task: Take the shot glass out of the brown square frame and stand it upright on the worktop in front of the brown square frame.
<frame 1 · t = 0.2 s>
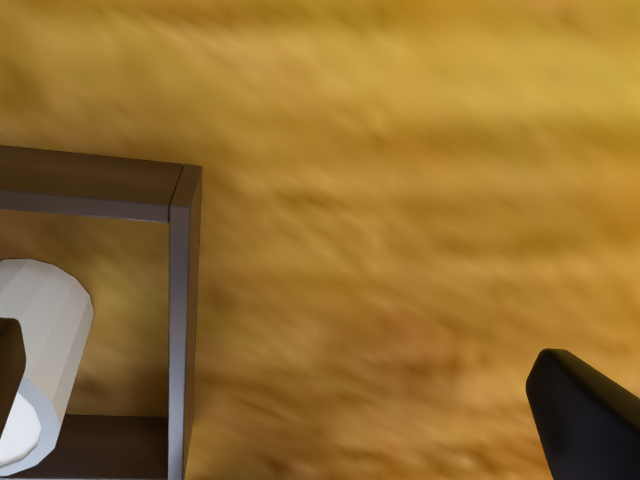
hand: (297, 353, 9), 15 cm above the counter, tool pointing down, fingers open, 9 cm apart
brown square frame: (33, 306, 25), on the counter
shot glass: (35, 304, 25), resting in brown square frame
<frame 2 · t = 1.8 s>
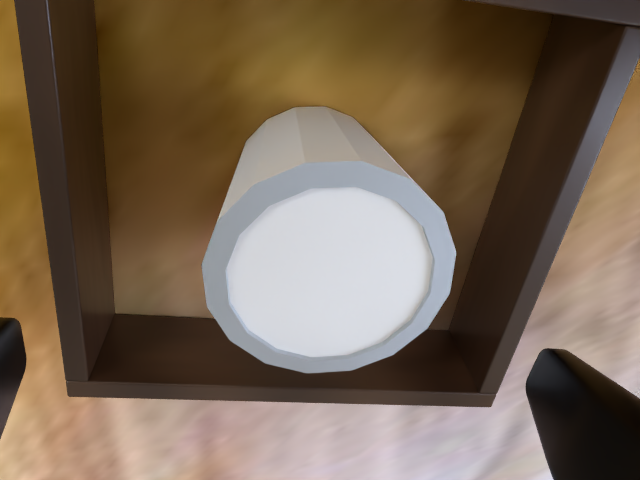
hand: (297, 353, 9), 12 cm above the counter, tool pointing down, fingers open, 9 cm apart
brown square frame: (310, 178, 20), on the counter
shot glass: (310, 176, 20), resting in brown square frame
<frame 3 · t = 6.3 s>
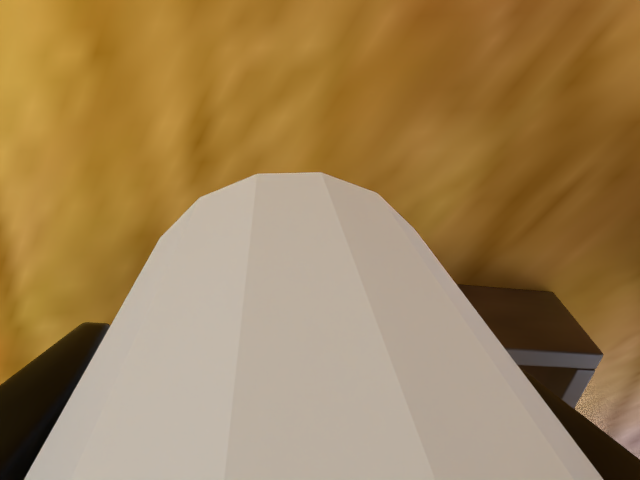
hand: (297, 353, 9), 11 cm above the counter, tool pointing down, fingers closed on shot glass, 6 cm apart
brown square frame: (337, 409, 25), on the counter
shot glass: (290, 296, 10), point 9 cm above the counter, touching gripper
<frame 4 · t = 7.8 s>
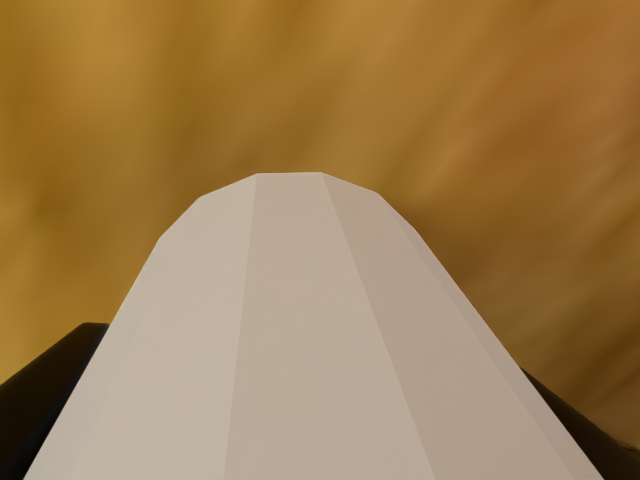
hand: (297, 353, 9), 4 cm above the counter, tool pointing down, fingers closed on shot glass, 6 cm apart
shot glass: (290, 295, 10), point 2 cm above the counter, touching gripper
when the fingers open (1 cm above the counter, at t = 9.0 s): shot glass stays where it is, on the counter.
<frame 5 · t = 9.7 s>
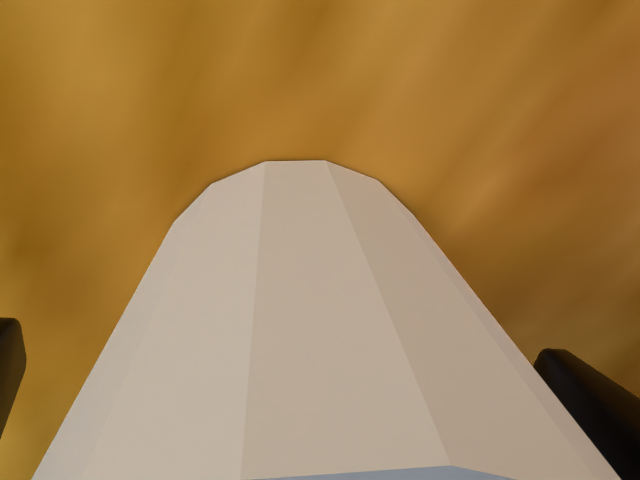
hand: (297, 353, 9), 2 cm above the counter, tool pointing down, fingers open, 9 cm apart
shot glass: (296, 279, 11), on the counter
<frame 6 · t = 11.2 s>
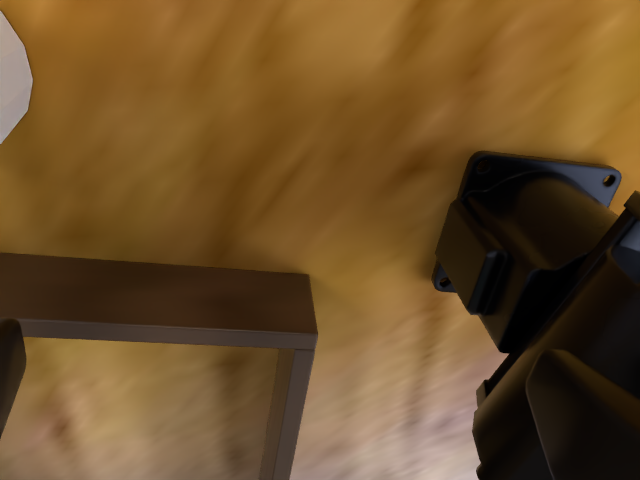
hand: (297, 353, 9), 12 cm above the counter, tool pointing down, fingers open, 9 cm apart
brown square frame: (115, 395, 25), on the counter
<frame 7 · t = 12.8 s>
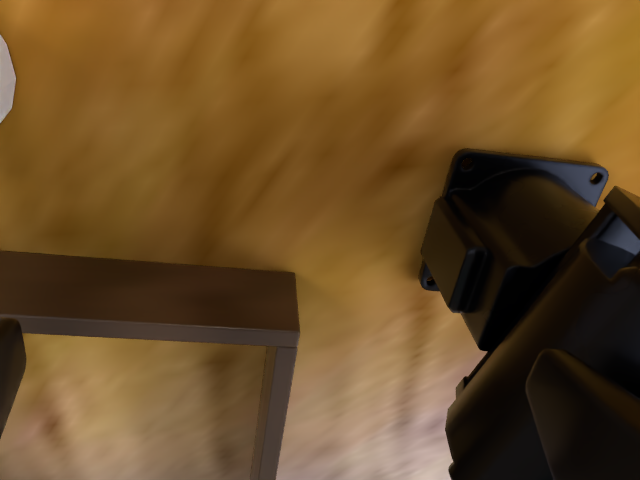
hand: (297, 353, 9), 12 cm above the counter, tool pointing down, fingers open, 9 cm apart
brown square frame: (105, 393, 25), on the counter
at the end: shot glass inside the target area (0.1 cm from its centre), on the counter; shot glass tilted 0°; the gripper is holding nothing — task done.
